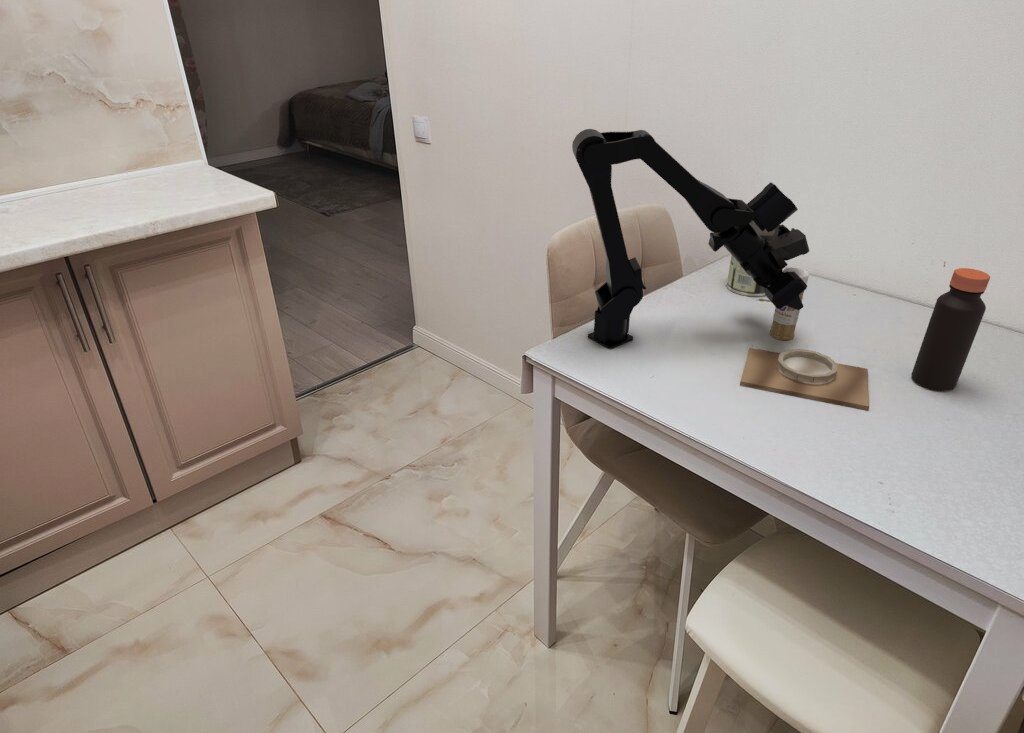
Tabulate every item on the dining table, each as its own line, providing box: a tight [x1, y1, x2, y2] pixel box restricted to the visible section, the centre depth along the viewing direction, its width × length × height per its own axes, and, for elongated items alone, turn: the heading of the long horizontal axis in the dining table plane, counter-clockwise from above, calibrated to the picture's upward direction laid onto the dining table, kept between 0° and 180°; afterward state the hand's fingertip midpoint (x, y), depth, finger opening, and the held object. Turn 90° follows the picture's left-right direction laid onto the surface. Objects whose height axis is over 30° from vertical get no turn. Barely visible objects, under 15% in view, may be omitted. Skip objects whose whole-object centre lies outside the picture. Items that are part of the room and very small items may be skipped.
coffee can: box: [726, 221, 781, 298], centre depth 146 cm, size 10×10×14 cm
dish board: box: [739, 347, 870, 411], centre depth 115 cm, size 20×13×2 cm, turn 66°
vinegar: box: [911, 267, 991, 392], centre depth 110 cm, size 7×7×20 cm
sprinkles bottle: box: [769, 267, 810, 341], centre depth 126 cm, size 5×5×14 cm
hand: (796, 302), depth 126 cm, fingers closed on sprinkles bottle, 4 cm apart
